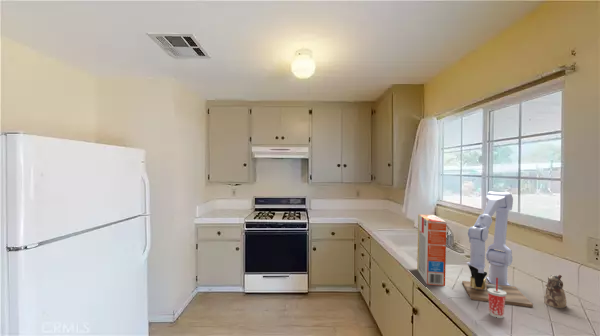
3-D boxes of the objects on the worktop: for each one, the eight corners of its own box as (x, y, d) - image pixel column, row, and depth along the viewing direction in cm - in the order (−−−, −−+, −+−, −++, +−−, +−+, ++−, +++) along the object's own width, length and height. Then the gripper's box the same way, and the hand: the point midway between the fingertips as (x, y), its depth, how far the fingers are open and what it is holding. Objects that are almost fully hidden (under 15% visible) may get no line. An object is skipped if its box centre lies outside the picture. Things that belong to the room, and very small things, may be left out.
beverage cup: (499, 320, 113) (499, 281, 113) (483, 313, 119) (483, 276, 119) (509, 317, 116) (510, 279, 116) (493, 310, 121) (494, 274, 122)
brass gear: (468, 283, 143) (469, 275, 143) (483, 285, 142) (483, 276, 142) (471, 288, 138) (472, 279, 138) (486, 290, 136) (487, 281, 136)
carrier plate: (462, 283, 151) (462, 273, 151) (515, 289, 144) (515, 279, 144) (471, 299, 132) (471, 288, 132) (532, 307, 125) (533, 295, 125)
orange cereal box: (445, 285, 147) (446, 221, 147) (427, 284, 148) (428, 221, 148) (432, 270, 169) (433, 214, 170) (417, 269, 171) (418, 214, 171)
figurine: (539, 300, 132) (540, 271, 132) (556, 300, 132) (557, 272, 132) (552, 307, 125) (553, 277, 125) (570, 308, 125) (571, 278, 125)
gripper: (464, 249, 148) (463, 277, 148) (470, 257, 134) (470, 288, 134) (481, 250, 146) (480, 279, 146) (489, 258, 132) (489, 291, 132)
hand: (477, 284), depth 140 cm, fingers closed on brass gear, 6 cm apart
